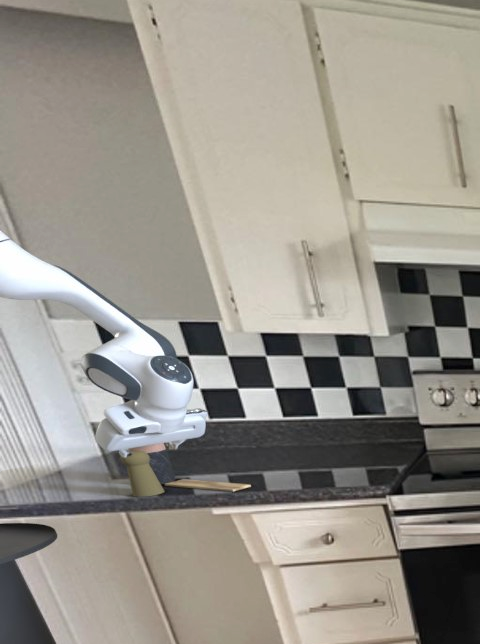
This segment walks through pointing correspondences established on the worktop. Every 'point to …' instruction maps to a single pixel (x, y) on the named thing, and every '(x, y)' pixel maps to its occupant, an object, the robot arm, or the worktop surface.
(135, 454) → the olive green tapered cylinder
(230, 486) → the strip
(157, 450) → the travel mug
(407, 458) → the worktop surface
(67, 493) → the worktop surface
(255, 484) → the worktop surface
